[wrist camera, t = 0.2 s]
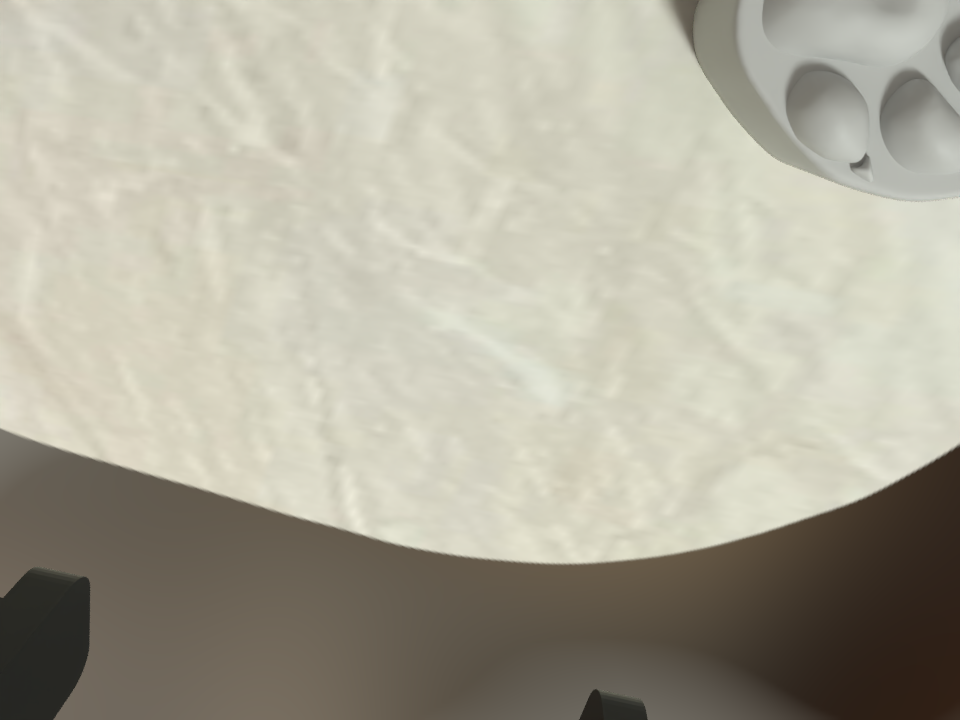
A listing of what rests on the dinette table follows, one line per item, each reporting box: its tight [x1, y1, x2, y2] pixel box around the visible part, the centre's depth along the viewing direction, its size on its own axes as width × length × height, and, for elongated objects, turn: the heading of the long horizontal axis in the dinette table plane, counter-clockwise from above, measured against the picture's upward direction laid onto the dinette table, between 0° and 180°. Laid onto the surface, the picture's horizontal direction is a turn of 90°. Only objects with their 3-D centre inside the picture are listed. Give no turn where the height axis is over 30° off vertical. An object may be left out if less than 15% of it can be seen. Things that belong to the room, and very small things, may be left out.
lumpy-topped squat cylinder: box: [693, 0, 960, 202], centre depth 29 cm, size 10×13×9 cm
